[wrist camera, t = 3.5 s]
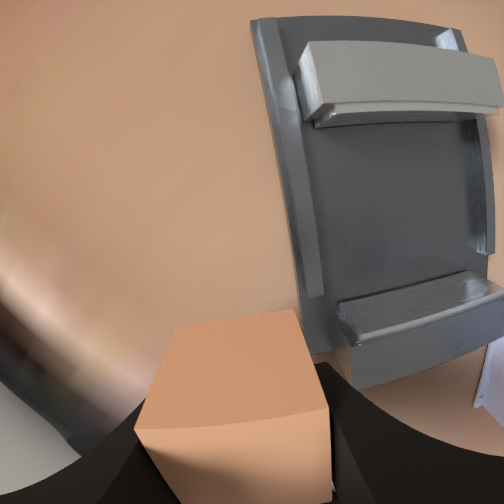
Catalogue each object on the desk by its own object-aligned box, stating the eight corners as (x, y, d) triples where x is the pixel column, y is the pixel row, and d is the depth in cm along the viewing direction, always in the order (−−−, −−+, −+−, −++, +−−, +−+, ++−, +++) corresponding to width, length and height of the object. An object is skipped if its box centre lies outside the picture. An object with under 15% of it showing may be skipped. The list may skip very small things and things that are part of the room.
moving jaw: (463, 122, 14) (507, 115, 10) (304, 129, 14) (325, 113, 10) (452, 74, 13) (493, 58, 9) (292, 73, 13) (308, 41, 10)
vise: (477, 300, 18) (520, 327, 13) (304, 348, 18) (321, 399, 13) (446, 32, 13) (488, 8, 9) (249, 27, 14) (252, -21, 9)
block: (305, 398, 11) (331, 501, 6) (205, 412, 11) (190, 515, 6) (293, 307, 10) (328, 407, 5) (176, 327, 10) (133, 428, 5)
